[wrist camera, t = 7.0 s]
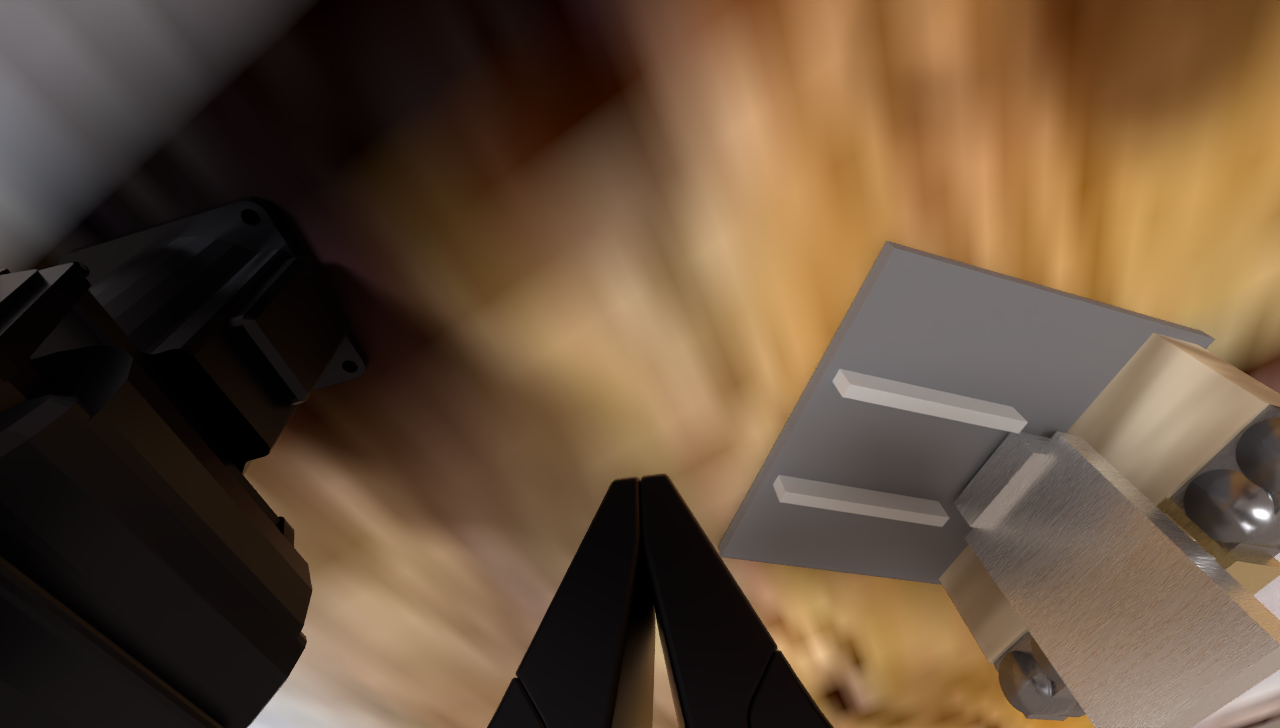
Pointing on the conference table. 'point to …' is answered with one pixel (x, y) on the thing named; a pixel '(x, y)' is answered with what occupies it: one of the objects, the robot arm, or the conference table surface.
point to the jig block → (1132, 452)
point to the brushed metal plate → (1114, 587)
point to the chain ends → (1209, 513)
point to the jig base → (925, 412)
